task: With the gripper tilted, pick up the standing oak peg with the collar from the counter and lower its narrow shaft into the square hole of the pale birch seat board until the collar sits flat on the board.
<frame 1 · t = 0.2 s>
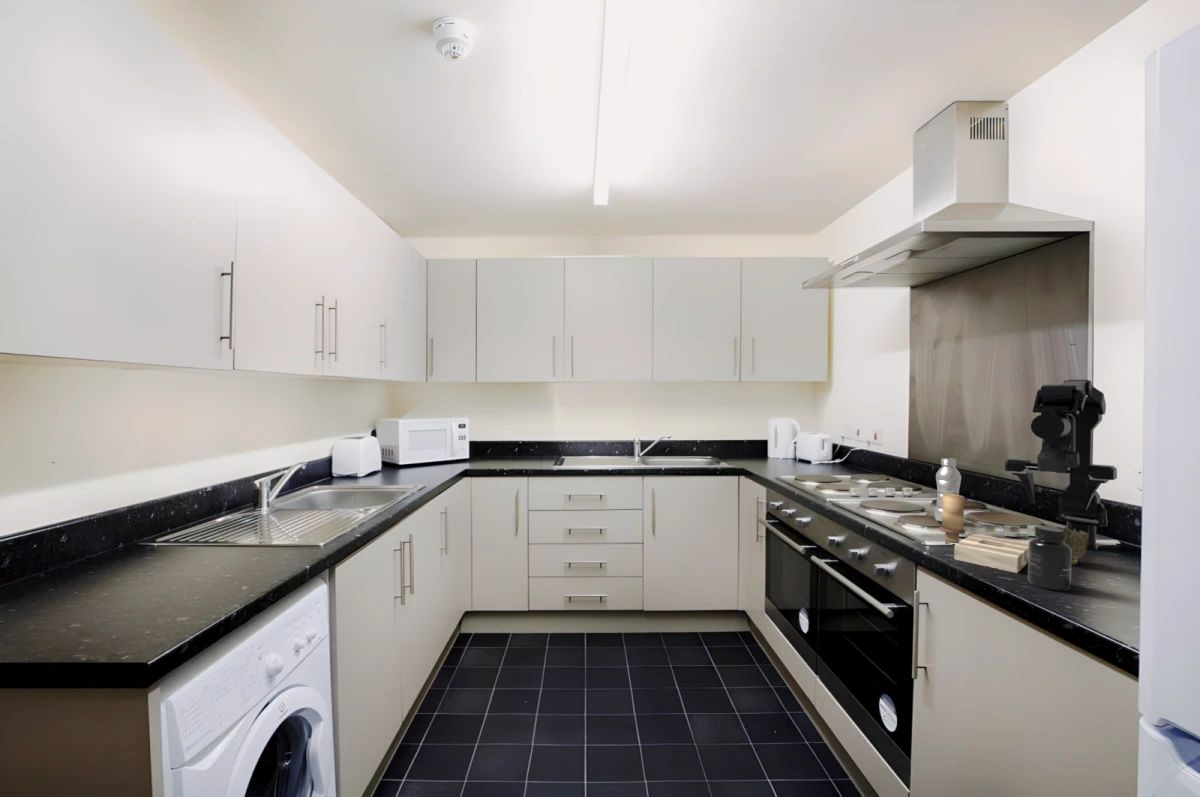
hand: (1058, 505, 118), 14 cm above the worktop, tool pointing down, fingers open, 9 cm apart
supplement bottle: (1048, 586, 107), on the worktop
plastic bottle: (947, 524, 157), on the worktop
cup: (1066, 564, 121), on the worktop
birch seat board: (993, 558, 124), on the worktop
oak peg: (952, 543, 137), on the worktop
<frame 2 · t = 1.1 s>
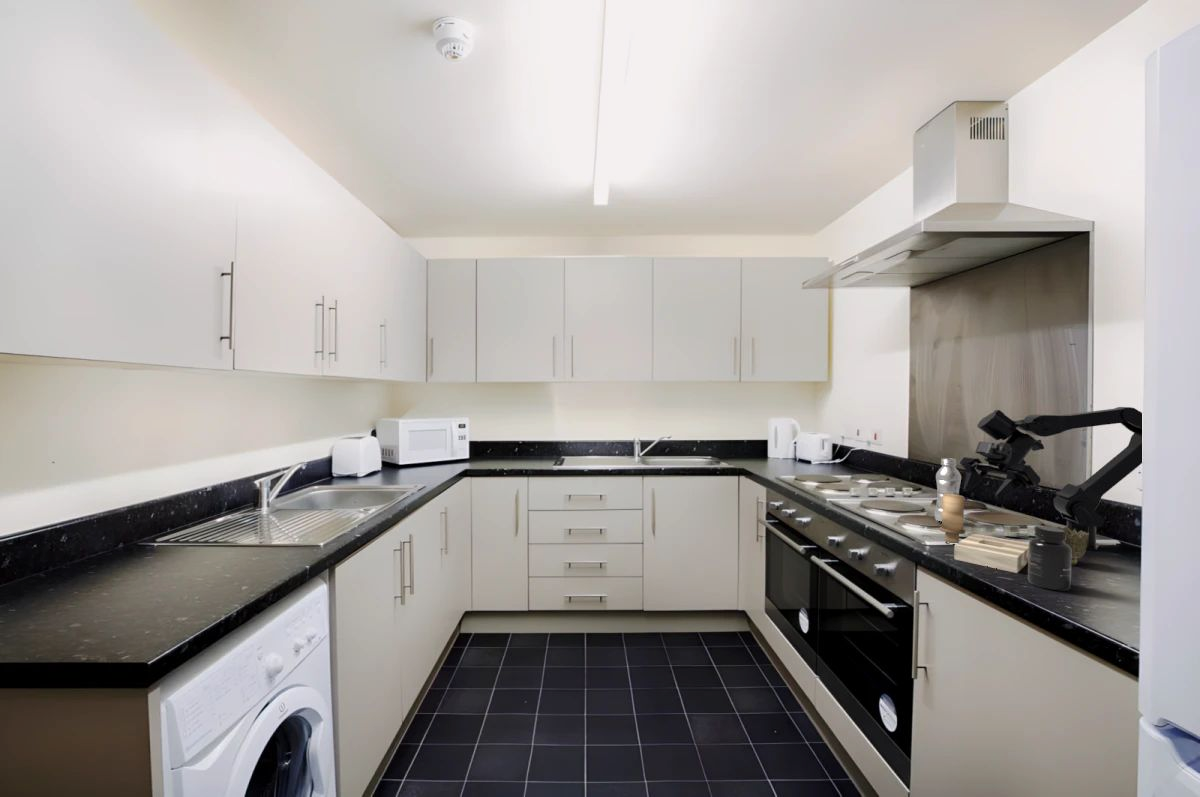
hand: (980, 493, 137), 13 cm above the worktop, tool tilted 45°, fingers open, 9 cm apart
nothing on the worktop moved.
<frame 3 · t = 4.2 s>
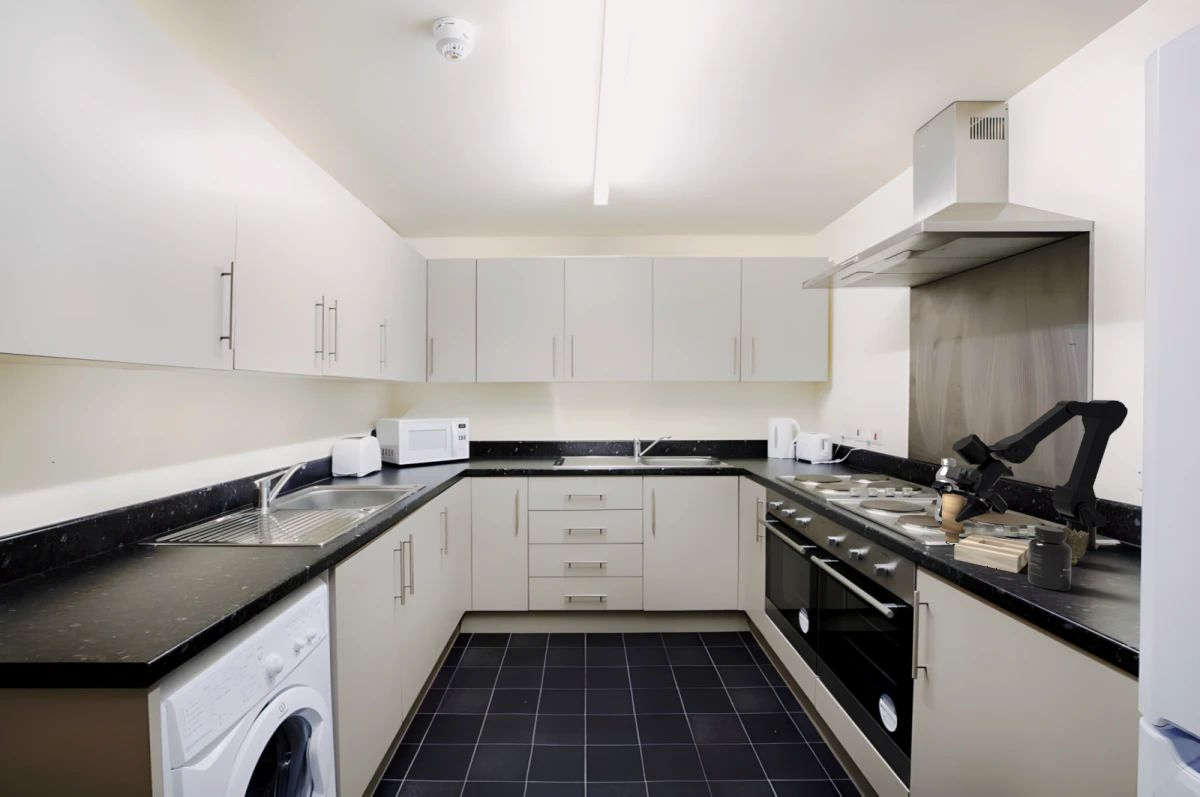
hand: (948, 519, 136), 7 cm above the worktop, tool tilted 45°, fingers closed on oak peg, 5 cm apart
oak peg: (951, 543, 137), on the worktop, touching gripper
everything else where it was.
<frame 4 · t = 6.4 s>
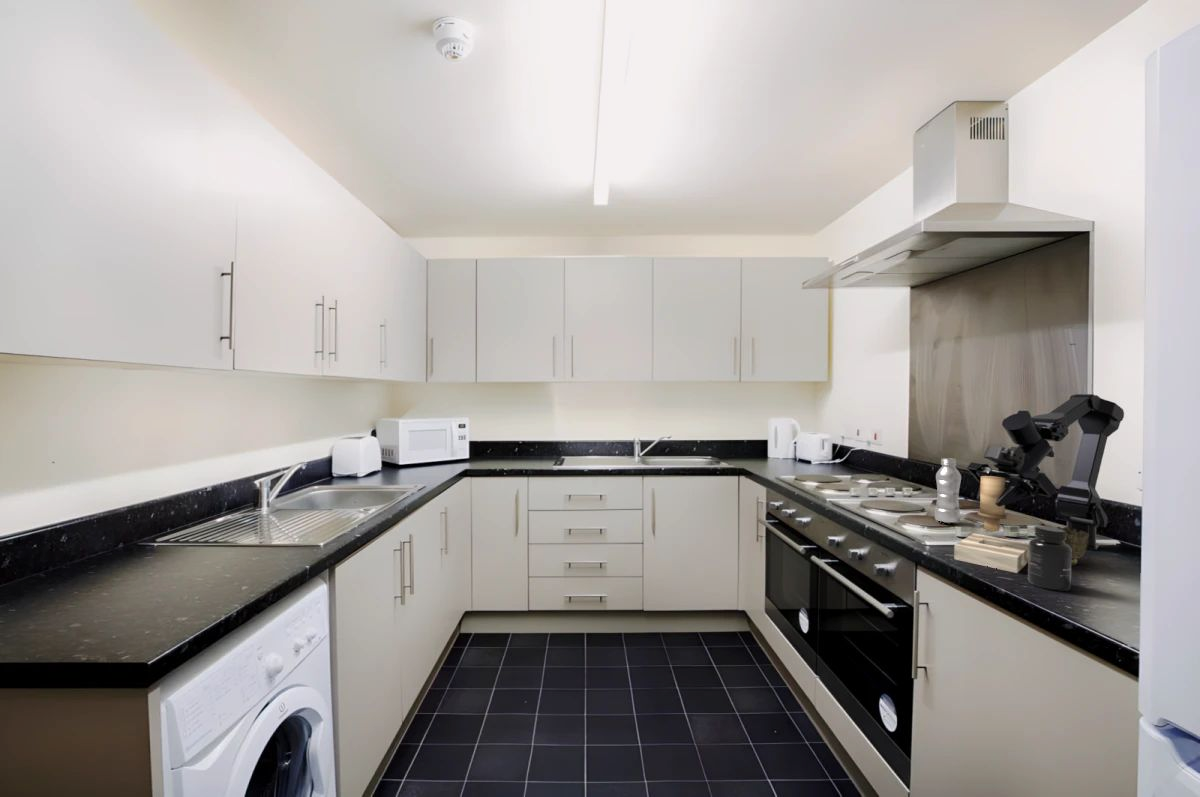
hand: (987, 502, 125), 13 cm above the worktop, tool tilted 45°, fingers closed on oak peg, 5 cm apart
oak peg: (991, 529, 125), point 7 cm above the worktop, touching gripper
everything else where it was.
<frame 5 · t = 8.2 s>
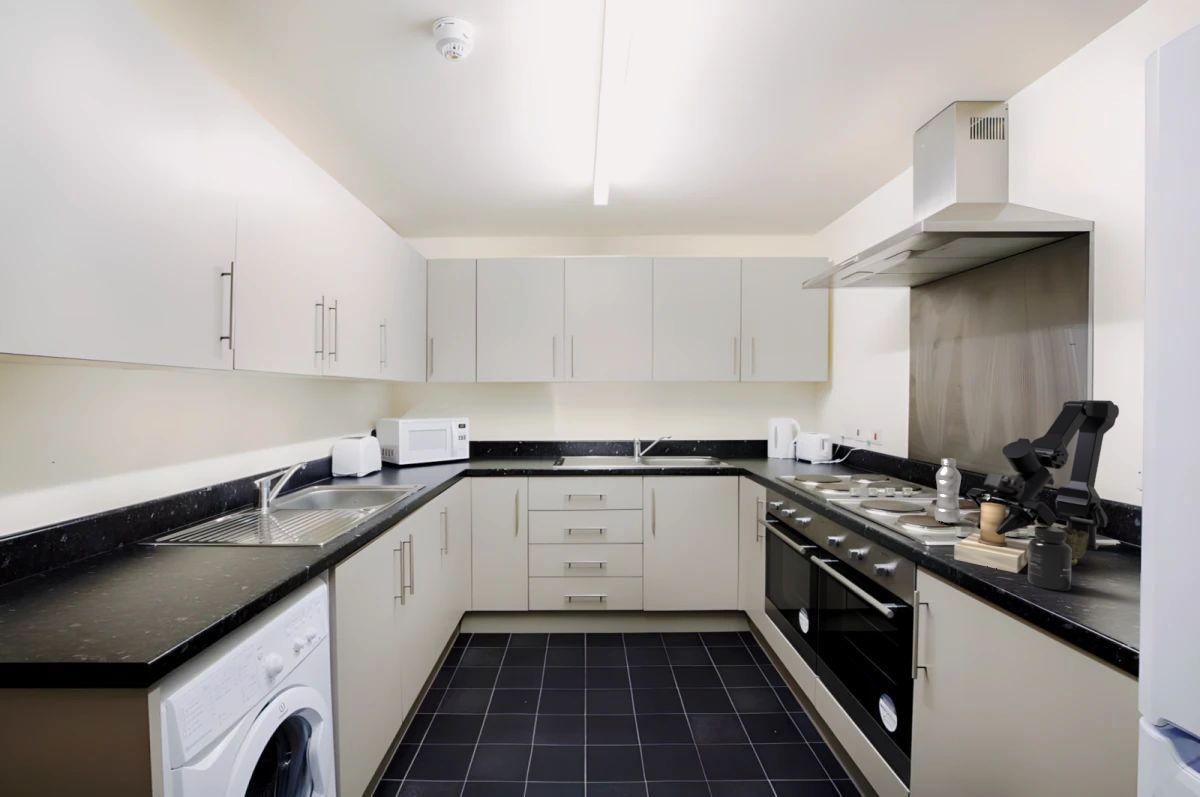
hand: (987, 530, 125), 7 cm above the worktop, tool tilted 45°, fingers closed on oak peg, 5 cm apart
oak peg: (992, 556, 125), resting in birch seat board, touching gripper
everything else where it was.
when the fingers open (7 cm above the worktop, at t = 9.1 s): oak peg stays where it is, resting on birch seat board.
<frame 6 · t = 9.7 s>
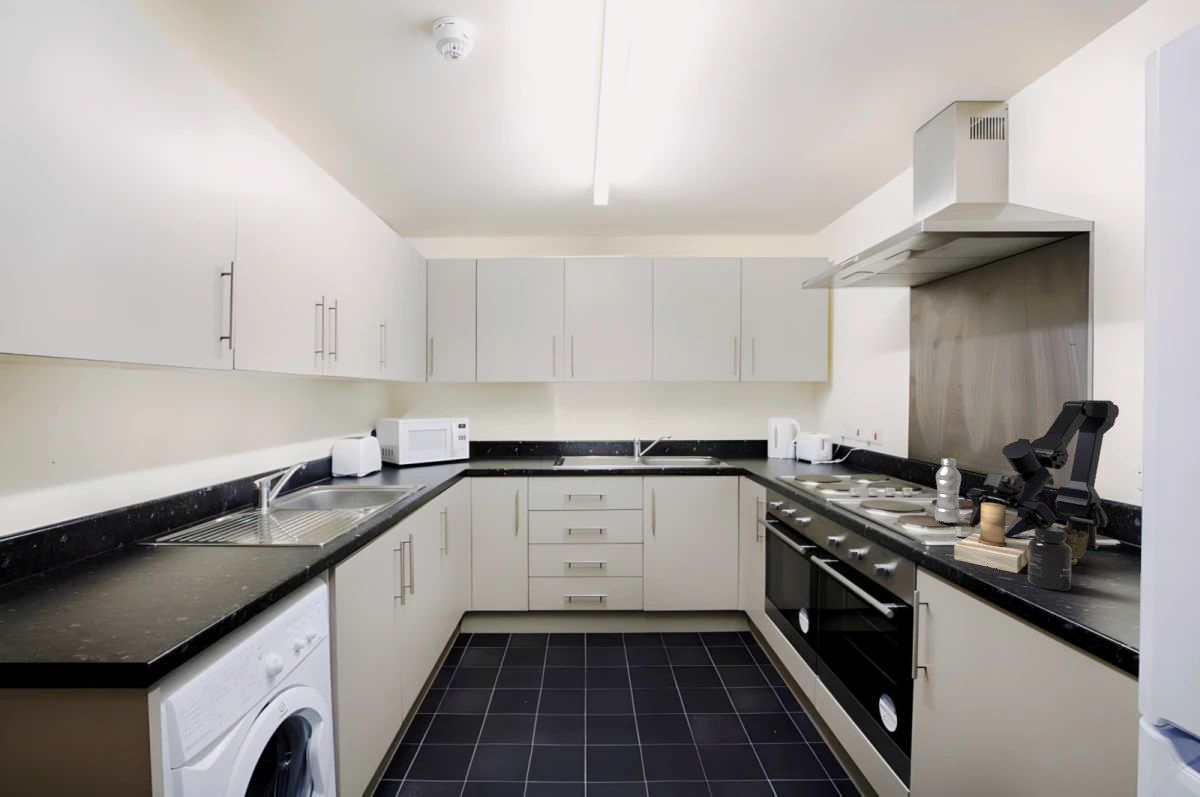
hand: (987, 530, 125), 7 cm above the worktop, tool tilted 45°, fingers open, 9 cm apart
oak peg: (992, 556, 125), resting on birch seat board
everything else where it was.
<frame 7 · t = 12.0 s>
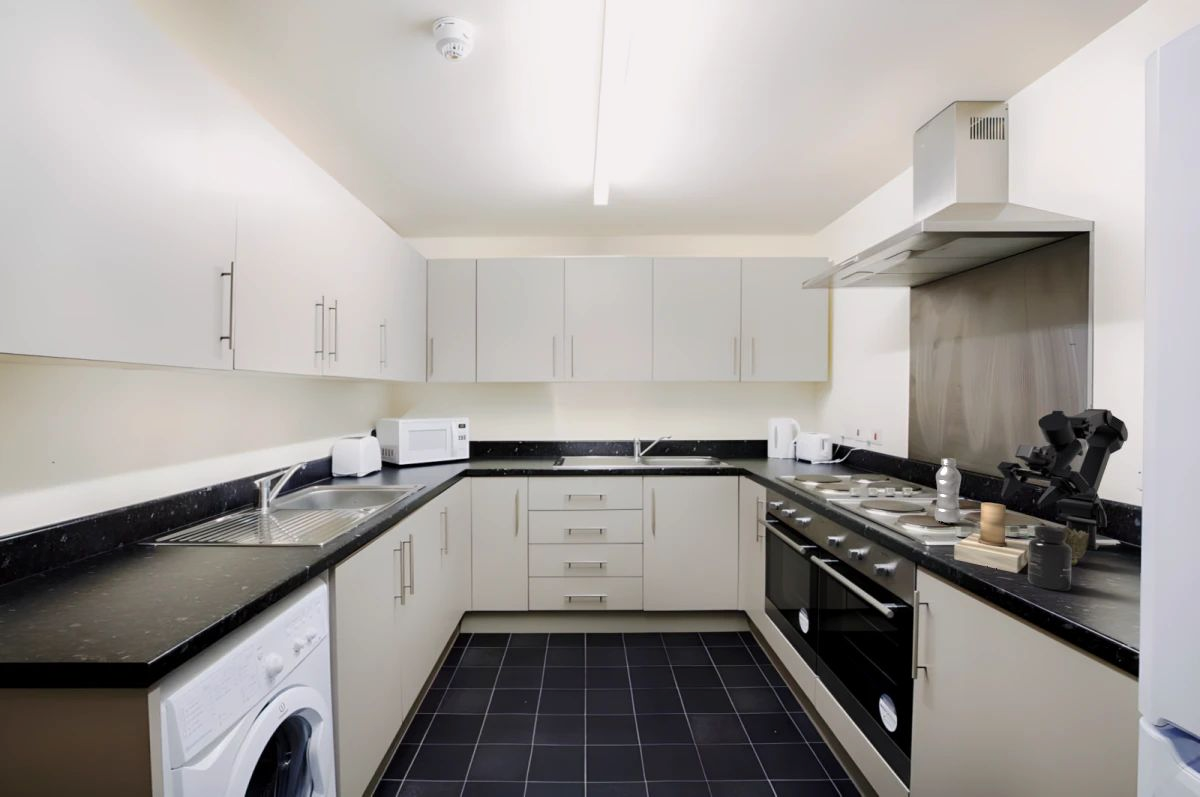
hand: (1019, 501, 126), 14 cm above the worktop, tool tilted 45°, fingers open, 9 cm apart
nothing on the worktop moved.
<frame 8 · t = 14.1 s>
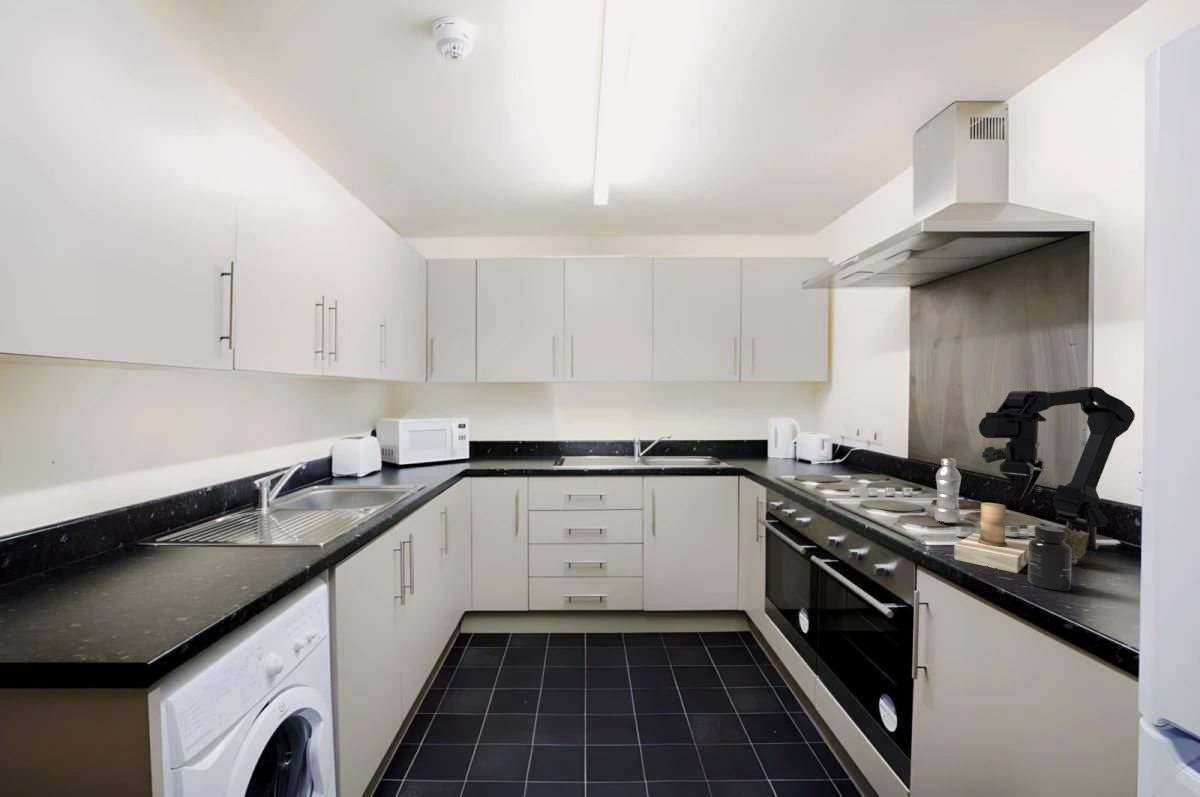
hand: (1021, 497, 134), 13 cm above the worktop, tool pointing down, fingers open, 9 cm apart
nothing on the worktop moved.
at the end: oak peg 0.0 cm off-centre on the birch seat board, point 0.2 cm above the birch seat board's base; oak peg tilted 0°; the gripper is holding nothing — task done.
